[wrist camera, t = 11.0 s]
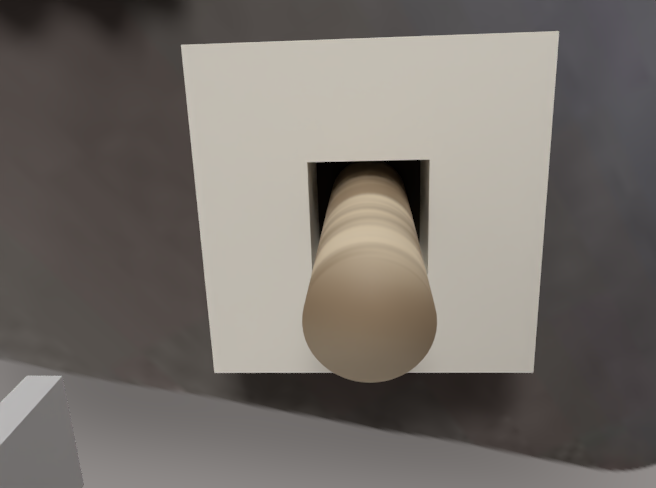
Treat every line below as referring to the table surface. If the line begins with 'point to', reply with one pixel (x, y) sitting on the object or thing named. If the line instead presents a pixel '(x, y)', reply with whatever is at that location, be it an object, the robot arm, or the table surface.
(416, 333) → the dowel
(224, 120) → the socket block
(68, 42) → the table surface
